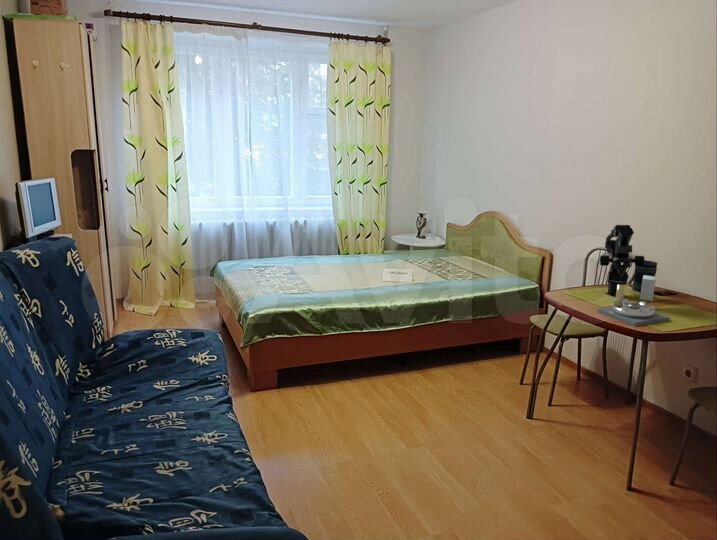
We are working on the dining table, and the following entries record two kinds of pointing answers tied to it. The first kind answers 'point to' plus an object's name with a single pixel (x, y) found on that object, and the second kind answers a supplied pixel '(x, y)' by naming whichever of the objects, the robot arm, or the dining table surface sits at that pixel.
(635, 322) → the housing plate
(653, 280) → the small box
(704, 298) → the dining table surface
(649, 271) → the storage jar
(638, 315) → the metal disc with post
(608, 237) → the robot arm
